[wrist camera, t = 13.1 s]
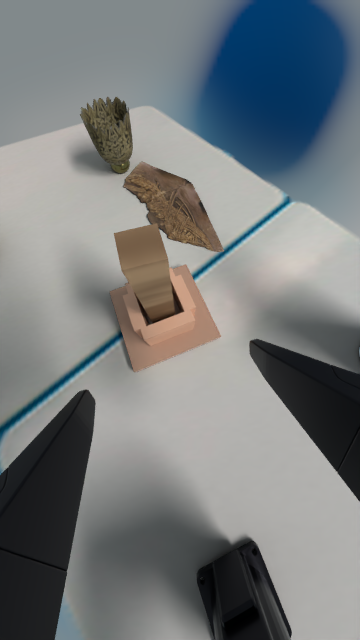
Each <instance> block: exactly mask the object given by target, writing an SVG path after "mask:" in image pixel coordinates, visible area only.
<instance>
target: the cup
mask: <svg viewBox="0 0 360 640" xmlns="http://www.w3.org/2000/svg"><path fill="white" fill-rule="evenodd" d="M106 105H107V106H106ZM87 109H88V111H87ZM87 109H84V108H81V114H80V116H81V118H82V120H83V122H84V125H85V127H86V129H87V131H88V133H89V135H90V137H91V139H92V141H93V143H94V145H95V147H96V149H97V151H98V153H99V154H100V156H101V157H102V158H103V159H104V160H105V161H106V162H108V163H110V165H111V168H112V169H113V170H114V171H115V172H117V173H124V172H126V171H127V170H128V169H129V166H130V162H129V159H130V157H131V155H132V149H133V143H132V133H131V125H130V117H129V112H128V111H129V108H128V110H127V109H126V103H125V102H124V101H123V102H121V101H120V99H118V98H117V97H115V99H114V101H113V102H111V100H110V98H109V97H107V98H106V104H105V102H104V101H103V100H102V99H101V98H99V100H98V102H97V101H96V100H95V99H94V101H93V109H92V108H91V107H90V105H89V104H88V103H87Z"/></svg>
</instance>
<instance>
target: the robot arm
mask: <svg viewBox="0 0 360 640" xmlns="http://www.w3.org/2000/svg"><path fill="white" fill-rule="evenodd" d="M250 355H251V357H252V359H253V360H254V362H255V364H256V365H257V367H258V368H259V370H260V372H261V373H262V375H263V377H264V378H265V380H266V381H267V382H268V384H269V385H270V386H271V387H272V389H273V390H274V391H275V393H276V394H277V395H278V397H279V398H280V399H281V400H282V402H283V403H284V404H285V406H286V407H287V408H288V409H289V411H290V412H291V413H292V415H293V416H294V417H295V418H296V420H297V421H298V422H299V424H300V425H301V426H302V428H303V429H304V430H305V431H306V433H307V434H308V435H309V437H310V438H311V439H312V440H313V442H314V443H315V444H316V446H317V447H318V448H319V449H320V451H321V452H322V453H323V455H324V456H325V457H326V458H327V460H328V461H329V462H330V464H331V465H332V466H333V468H334V469H335V470H336V471H337V472H338V474H339V475H340V477H341V478H342V479H343V481H344V482H345V483H346V484H347V486H348V487H349V488H350V490H351V491H352V492H353V494H354V495H355V496H356V497H357V499H358V500H359V501H360V374H357V373H354V372H351V371H348V370H345V369H342V368H339V367H336V366H333V365H330V364H327V363H325V362H322V361H319V360H316V359H313V358H310V357H308V356H305V355H302V354H299V353H296V352H293V351H291V350H288V349H285V348H282V347H279V346H276V345H273V344H271V343H268V342H265V341H262V340H259V339H254V340H251V341H250ZM94 416H95V399H94V398H93V396H92V395H91V393H90V392H89V390H83V391H79V392H78V393H77V394H76V395H75V396H74V397H73V398H72V399H71V400H70V401H69V402H68V404H67V405H66V406H65V407H64V408H63V409H62V410H61V411H60V412H59V413H58V414H57V415H56V416H55V417H54V418H53V420H52V421H51V422H50V423H49V424H48V425H47V426H46V427H45V428H44V429H43V430H42V431H41V432H40V433H39V434H38V436H37V437H36V438H35V439H34V440H33V441H32V442H31V443H30V444H29V445H28V446H27V447H26V448H25V449H24V450H23V451H22V453H21V454H20V455H19V456H18V457H17V458H16V459H15V460H14V461H13V462H12V463H11V464H10V465H9V468H7V469H6V470H5V471H4V472H3V473H2V474H1V475H0V640H55V634H56V629H57V624H58V619H59V613H60V608H61V603H62V597H63V592H64V587H65V581H66V576H67V569H68V564H69V559H70V554H71V548H72V543H73V538H74V532H75V527H76V522H77V516H78V511H79V506H80V500H81V495H82V490H83V484H84V479H85V474H86V468H87V463H88V458H89V452H90V447H91V442H92V436H93V428H94ZM254 548H255V551H252V549H254ZM201 577H203V578H204V579H203V580H201V579H200V578H201ZM197 583H198V587H199V590H200V593H201V596H202V600H203V603H204V606H205V609H206V613H207V616H208V619H209V622H210V626H211V629H212V632H213V636H214V639H215V640H291V639H290V638H291V635H292V631H291V628H290V625H289V623H288V620H287V618H286V615H285V613H284V610H283V608H282V605H281V603H280V600H279V598H278V595H277V593H276V590H275V588H274V585H273V583H272V580H271V578H270V575H269V573H268V570H267V568H266V565H265V563H264V560H263V558H262V555H261V553H260V550H259V548H258V546H257V544H256V543H255V542H254V541H251V542H249V543H247V544H245V545H243V546H242V547H240V548H238V549H236V550H234V551H232V552H230V553H228V554H226V555H225V556H223V557H221V558H219V559H217V560H216V561H214V562H213V563H211V564H209V565H207V566H205V567H204V568H202V569H200V570H199V571H198V573H197Z"/></svg>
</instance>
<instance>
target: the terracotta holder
mask: <svg viewBox="0 0 360 640" xmlns="http://www.w3.org/2000/svg"><path fill="white" fill-rule="evenodd" d="M169 271H170V279H171V286H172V294H173V302H174V309H175V315H174V316H172V317H169V318H167V319H164V320H161V321H159V322H156V323H154V324H153V323H152V321H151V319H150V317H149V316H148V314H147V312H146V311H145V309H144V307H143V306H142V304H141V302H140V301H139V299H138V297H137V295H136V294H135V292H134V290H133V289H132V287H131V285H130V284H129V283H126V284H125V286H124V287H121V288H118V289H115V290H113V291H110V296H111V299H112V302H113V305H114V309H115V312H116V315H117V318H118V321H119V325H120V328H121V331H122V334H123V338H124V341H125V344H126V347H127V351H128V354H129V357H130V360H131V364H132V367H133V370H134V372H138V371H141V370H143V369H145V368H148V367H150V366H153V365H155V364H158V363H160V362H162V361H165V360H167V359H170V358H172V357H175V356H177V355H179V354H182V353H184V352H187V351H189V350H192V349H194V348H196V347H199V346H201V345H204V344H206V343H209V342H211V341H214V340H216V339H218V338H220V337H221V335H220V333H219V331H218V329H217V327H216V325H215V323H214V321H213V319H212V317H211V314H210V312H209V310H208V308H207V306H206V304H205V302H204V300H203V298H202V296H201V294H200V292H199V290H198V288H197V286H196V284H195V282H194V280H193V277H192V275H191V273H190V271H189V269H188V267H187V265H186V264H185V265H183V266H180V267H177V268H174V269H172V268H169Z"/></svg>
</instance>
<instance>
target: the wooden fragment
mask: <svg viewBox="0 0 360 640" xmlns="http://www.w3.org/2000/svg"><path fill="white" fill-rule="evenodd" d="M125 181H126V182H125V184H124V186H123V187H124V188H127V189H128V190H130V191H131V192H132V193H134V194H135V195H137V196H138V198H139V199H140V201H141V203H146V204H147V207H148V209H149V211H150V212H149V213H148V215H147V216H148V218H149V220H150V222H151V223H152V224H156V223H157V225H158V227H159V228H161V229H162V230H163V231H164V232H165V233H166V234H167V237H168V238H169V239H172V240H174V241H179V242H182V243H186V244H187V243H189V244H192V245H197V246H201V247H206V248H207V249H208V250H211V251H217V252H222V251H224V250H223V247H222V245H221V243H220V241H219V239H218V236H217V235H216V232H215V230H214V228H213V226H212V224H211V222H210V220H209V218H208V215H207V213H206V211H205V208H204V206H203V204H202V202H201V200H200V198H199V196H198V194H197V192H196V191H195V188H194V186H193V184H191V182H189V181H187V180H186V179H184V178H181V177H179V176H176V175H174V174H171V173H168V172H166V171H163V170H161V169H158V168H155V167H153V166H150V165H149V164H147V163H145V162H140V163H139V165H137V166H136V167H135V169H134V170H133V171H132V172H131V174H130V175H129V176H128V177H126V179H125Z"/></svg>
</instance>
